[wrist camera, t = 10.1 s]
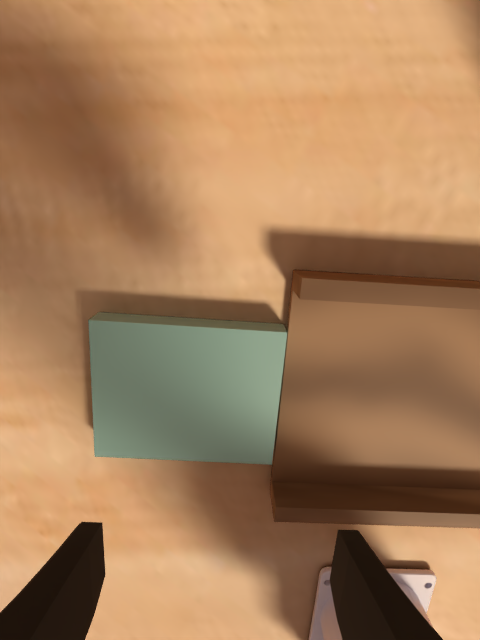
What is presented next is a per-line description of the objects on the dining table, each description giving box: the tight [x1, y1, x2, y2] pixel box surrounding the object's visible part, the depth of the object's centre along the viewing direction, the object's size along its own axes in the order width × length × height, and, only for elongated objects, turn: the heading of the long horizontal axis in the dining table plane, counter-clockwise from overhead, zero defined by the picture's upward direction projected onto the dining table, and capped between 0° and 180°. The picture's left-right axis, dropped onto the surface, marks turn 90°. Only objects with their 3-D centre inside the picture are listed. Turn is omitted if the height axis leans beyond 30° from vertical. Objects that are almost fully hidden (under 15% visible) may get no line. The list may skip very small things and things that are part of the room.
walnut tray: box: [270, 270, 480, 528], centre depth 20 cm, size 14×18×2 cm
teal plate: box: [88, 312, 287, 465], centre depth 20 cm, size 8×10×2 cm
